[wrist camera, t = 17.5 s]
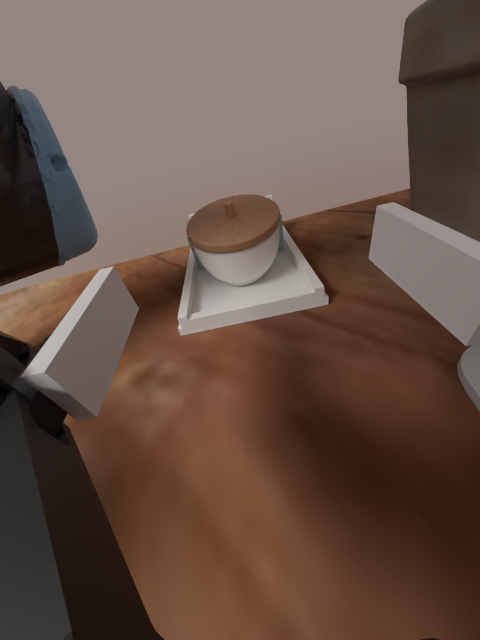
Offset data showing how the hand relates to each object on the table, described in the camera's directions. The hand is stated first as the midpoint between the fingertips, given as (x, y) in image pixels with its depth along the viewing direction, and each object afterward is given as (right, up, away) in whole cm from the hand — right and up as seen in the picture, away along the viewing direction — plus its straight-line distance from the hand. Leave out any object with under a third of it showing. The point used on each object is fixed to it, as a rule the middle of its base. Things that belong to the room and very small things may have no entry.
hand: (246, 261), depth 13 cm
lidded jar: (0, +4, +21) cm, 21 cm away
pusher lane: (0, +4, +23) cm, 24 cm away
